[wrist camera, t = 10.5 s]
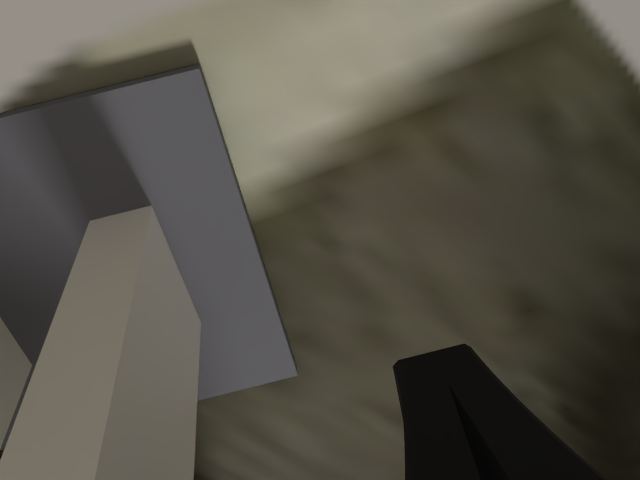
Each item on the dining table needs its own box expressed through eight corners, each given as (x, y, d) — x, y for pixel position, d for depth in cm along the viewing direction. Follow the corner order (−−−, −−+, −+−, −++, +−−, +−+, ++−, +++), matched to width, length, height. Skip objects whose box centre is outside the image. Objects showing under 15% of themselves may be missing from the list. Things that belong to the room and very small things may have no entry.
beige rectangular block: (146, 336, 17) (98, 639, 10) (89, 220, 15) (-19, 511, 8) (200, 322, 17) (187, 617, 10) (151, 205, 15) (93, 482, 8)
